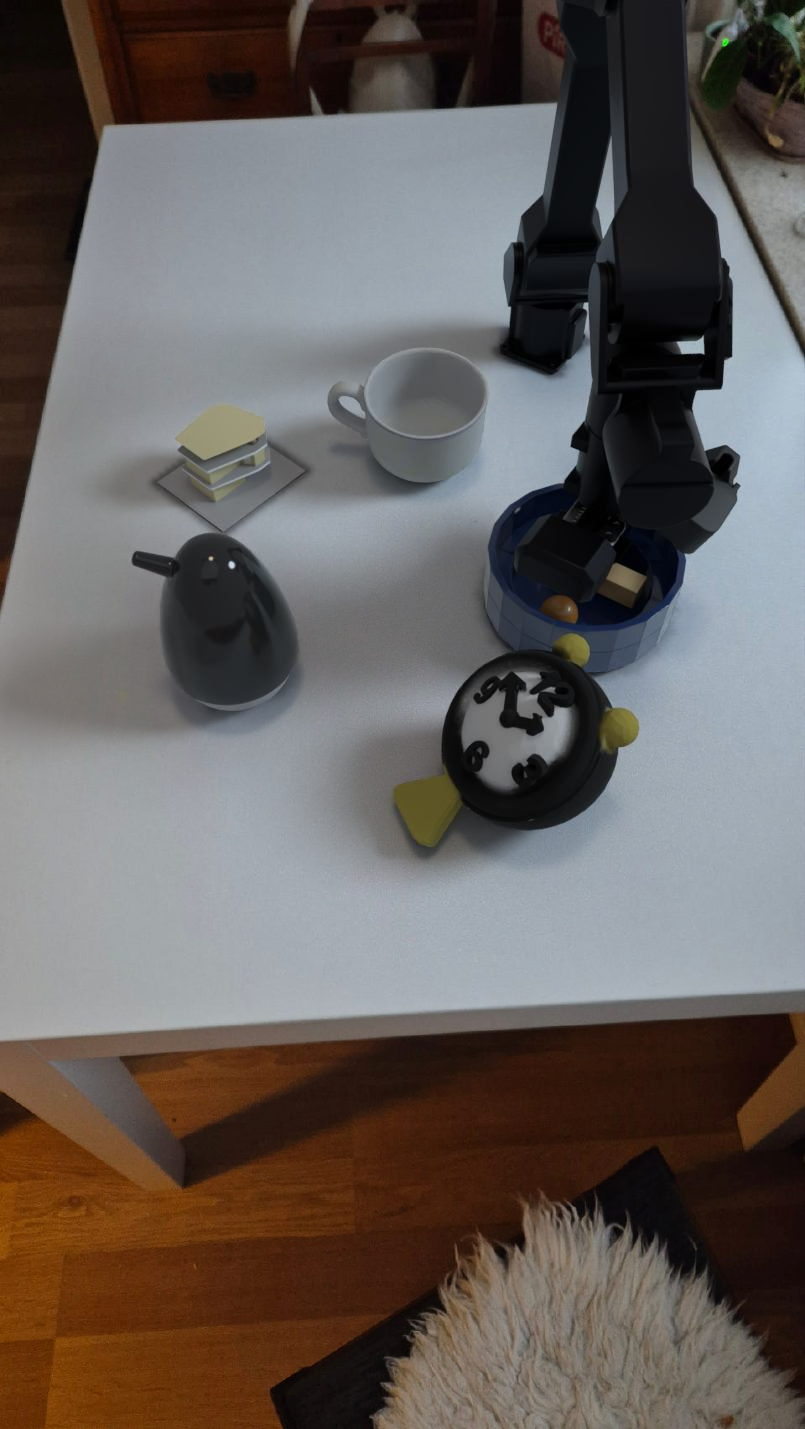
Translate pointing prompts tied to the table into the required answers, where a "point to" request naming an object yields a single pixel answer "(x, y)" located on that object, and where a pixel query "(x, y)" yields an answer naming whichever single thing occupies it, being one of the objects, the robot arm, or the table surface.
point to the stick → (623, 585)
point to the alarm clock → (522, 745)
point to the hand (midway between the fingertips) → (592, 571)
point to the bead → (560, 608)
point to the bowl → (600, 621)
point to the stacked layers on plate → (228, 466)
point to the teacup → (418, 412)
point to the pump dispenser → (223, 622)
